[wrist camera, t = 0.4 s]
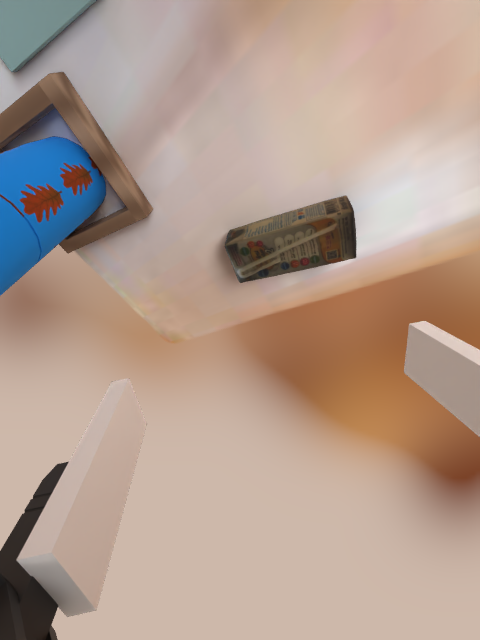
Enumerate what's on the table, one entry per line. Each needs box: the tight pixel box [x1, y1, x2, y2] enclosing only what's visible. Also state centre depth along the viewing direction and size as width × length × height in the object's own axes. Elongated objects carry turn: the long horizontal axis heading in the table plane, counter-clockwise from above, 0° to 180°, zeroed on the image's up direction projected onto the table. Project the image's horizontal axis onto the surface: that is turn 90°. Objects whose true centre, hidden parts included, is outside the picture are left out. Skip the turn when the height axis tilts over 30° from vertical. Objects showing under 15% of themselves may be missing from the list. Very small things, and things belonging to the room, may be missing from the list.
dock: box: [0, 72, 153, 253], centre depth 41 cm, size 18×18×3 cm
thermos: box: [0, 136, 106, 295], centre depth 33 cm, size 11×11×25 cm
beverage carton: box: [225, 196, 356, 283], centre depth 43 cm, size 8×19×7 cm, turn 109°
